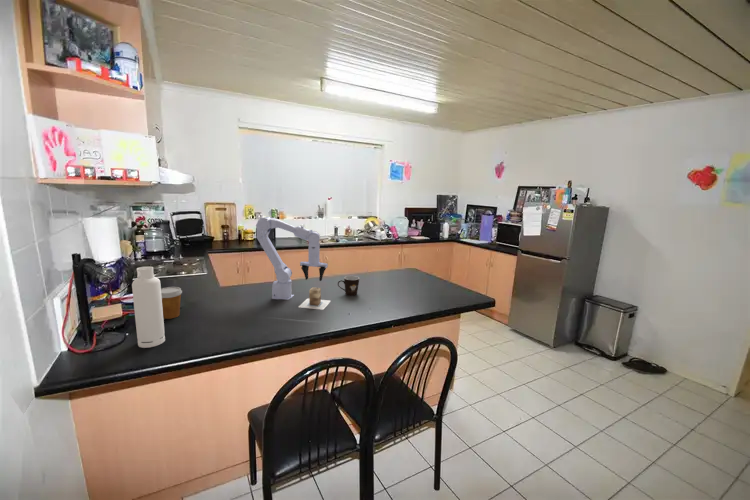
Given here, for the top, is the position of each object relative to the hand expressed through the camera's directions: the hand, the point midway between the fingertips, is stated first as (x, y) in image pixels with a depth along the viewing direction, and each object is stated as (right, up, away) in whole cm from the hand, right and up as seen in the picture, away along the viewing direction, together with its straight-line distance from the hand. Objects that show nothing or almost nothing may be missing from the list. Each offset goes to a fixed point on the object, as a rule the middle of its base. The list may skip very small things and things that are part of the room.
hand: (313, 279), depth 165 cm
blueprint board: (+2, -12, -7) cm, 14 cm away
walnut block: (+2, -12, -7) cm, 14 cm away
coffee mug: (+18, -10, +11) cm, 23 cm away
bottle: (-49, -18, -52) cm, 74 cm away
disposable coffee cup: (-57, -13, -29) cm, 65 cm away
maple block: (+2, -8, -9) cm, 12 cm away
